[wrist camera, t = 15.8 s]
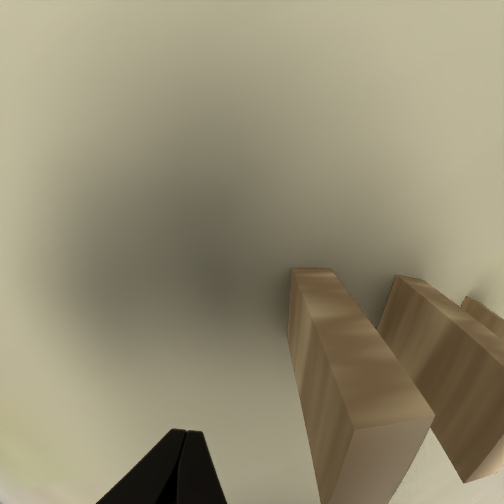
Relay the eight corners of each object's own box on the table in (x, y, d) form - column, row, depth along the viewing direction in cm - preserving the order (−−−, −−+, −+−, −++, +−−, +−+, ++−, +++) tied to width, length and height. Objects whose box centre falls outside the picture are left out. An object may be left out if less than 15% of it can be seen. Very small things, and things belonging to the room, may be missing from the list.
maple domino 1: (329, 268, 16) (435, 414, 6) (322, 336, 17) (387, 504, 7) (291, 268, 16) (354, 430, 6) (287, 337, 17) (323, 515, 7)
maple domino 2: (423, 280, 16) (556, 387, 6) (400, 341, 17) (496, 472, 7) (396, 274, 16) (530, 392, 6) (373, 338, 17) (463, 483, 7)
